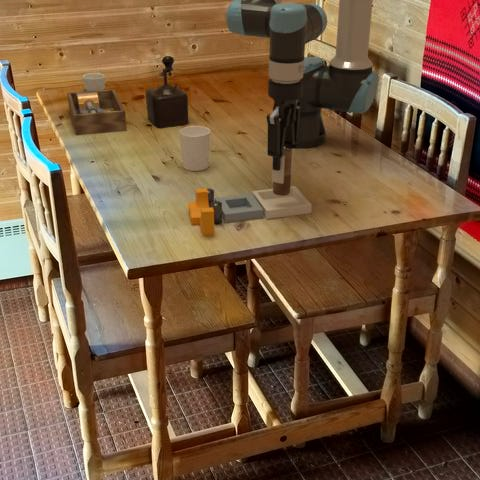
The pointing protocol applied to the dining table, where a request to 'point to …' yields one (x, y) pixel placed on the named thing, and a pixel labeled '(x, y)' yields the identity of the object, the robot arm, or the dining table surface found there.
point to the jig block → (240, 208)
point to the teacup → (94, 81)
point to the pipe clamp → (202, 212)
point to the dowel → (285, 187)
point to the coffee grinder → (167, 101)
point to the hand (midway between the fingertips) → (282, 178)
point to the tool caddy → (98, 114)
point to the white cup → (195, 147)
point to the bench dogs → (215, 207)
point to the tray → (282, 203)
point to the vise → (88, 103)
